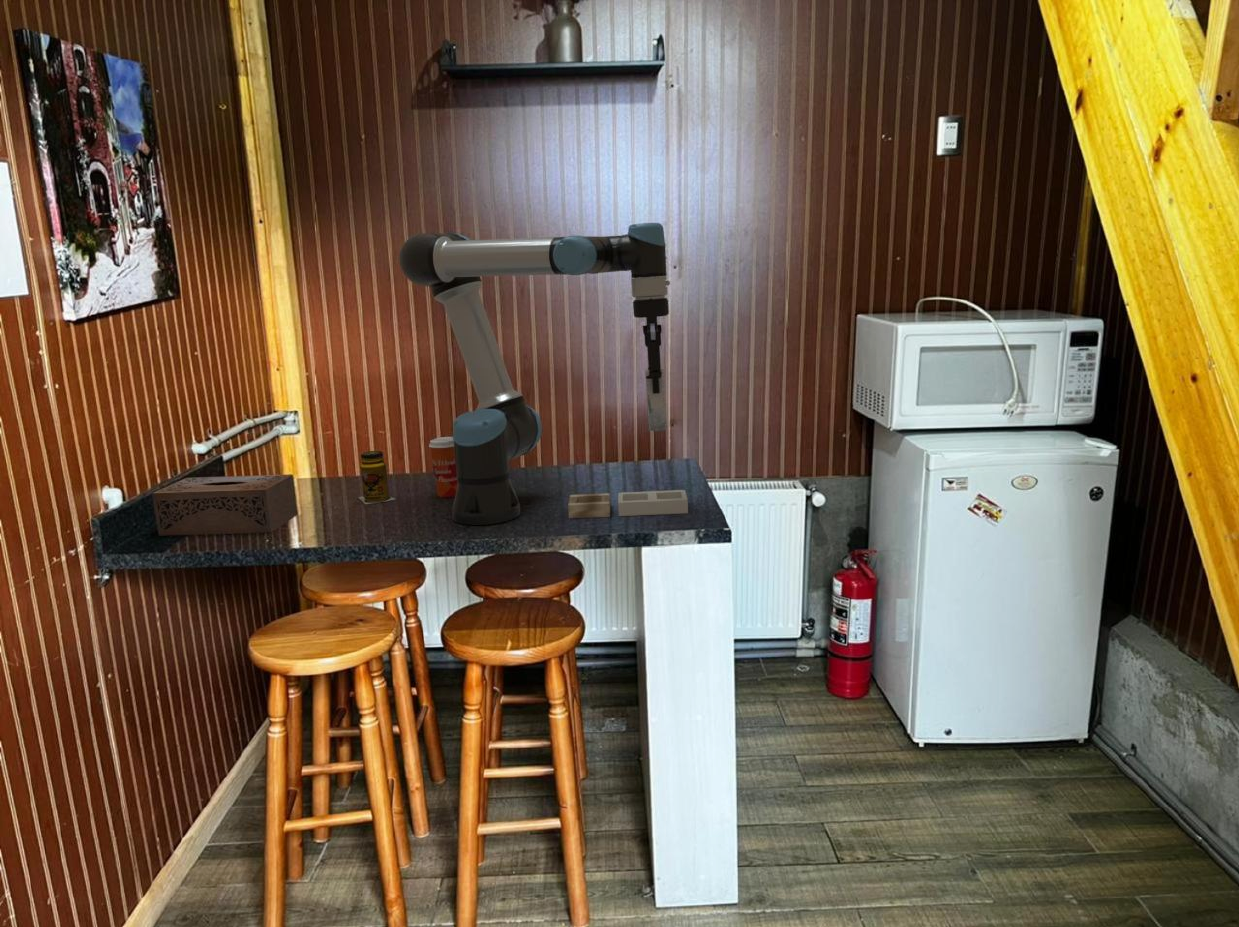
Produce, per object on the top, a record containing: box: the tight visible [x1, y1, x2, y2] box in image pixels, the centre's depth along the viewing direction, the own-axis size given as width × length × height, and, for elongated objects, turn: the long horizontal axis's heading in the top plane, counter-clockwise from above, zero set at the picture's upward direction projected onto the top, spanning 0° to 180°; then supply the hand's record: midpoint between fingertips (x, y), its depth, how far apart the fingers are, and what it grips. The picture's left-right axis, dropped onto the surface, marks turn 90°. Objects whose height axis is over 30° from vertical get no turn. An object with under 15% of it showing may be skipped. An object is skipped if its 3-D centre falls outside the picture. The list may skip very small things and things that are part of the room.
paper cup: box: [428, 436, 458, 498], centre depth 223 cm, size 8×8×14 cm
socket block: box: [567, 492, 611, 519], centre depth 203 cm, size 9×9×3 cm
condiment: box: [358, 450, 396, 505], centre depth 223 cm, size 7×8×12 cm
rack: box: [617, 489, 689, 517], centre depth 203 cm, size 15×9×3 cm, turn 90°
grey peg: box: [644, 368, 668, 432], centre depth 197 cm, size 4×4×13 cm
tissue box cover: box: [151, 473, 299, 537], centre depth 206 cm, size 26×14×10 cm, turn 87°
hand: (656, 406), depth 197 cm, fingers closed on grey peg, 4 cm apart
